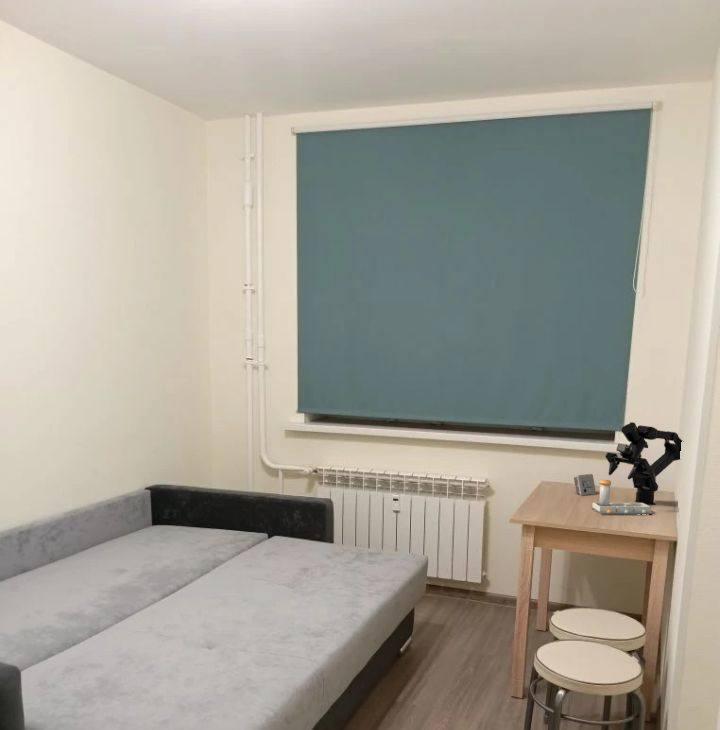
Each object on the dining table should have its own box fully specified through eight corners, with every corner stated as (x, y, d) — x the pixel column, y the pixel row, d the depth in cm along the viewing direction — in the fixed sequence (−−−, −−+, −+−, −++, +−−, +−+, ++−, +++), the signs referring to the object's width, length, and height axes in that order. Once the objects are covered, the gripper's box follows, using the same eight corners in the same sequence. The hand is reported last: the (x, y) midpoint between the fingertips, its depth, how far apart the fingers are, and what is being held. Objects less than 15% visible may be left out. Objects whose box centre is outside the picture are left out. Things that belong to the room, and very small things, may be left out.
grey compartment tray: (641, 508, 282) (641, 502, 281) (654, 515, 272) (654, 508, 272) (591, 509, 280) (591, 502, 280) (602, 515, 270) (602, 508, 270)
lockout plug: (603, 507, 279) (605, 479, 278) (612, 510, 275) (613, 481, 274) (595, 508, 277) (596, 480, 276) (604, 511, 273) (605, 482, 272)
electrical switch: (581, 496, 304) (580, 475, 304) (573, 494, 309) (572, 474, 309) (596, 494, 308) (595, 474, 309) (588, 493, 313) (587, 473, 313)
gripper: (608, 434, 291) (591, 461, 285) (647, 439, 276) (630, 468, 270) (618, 450, 296) (602, 477, 290) (657, 457, 280) (641, 485, 275)
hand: (618, 476), depth 281 cm, fingers open, 9 cm apart
